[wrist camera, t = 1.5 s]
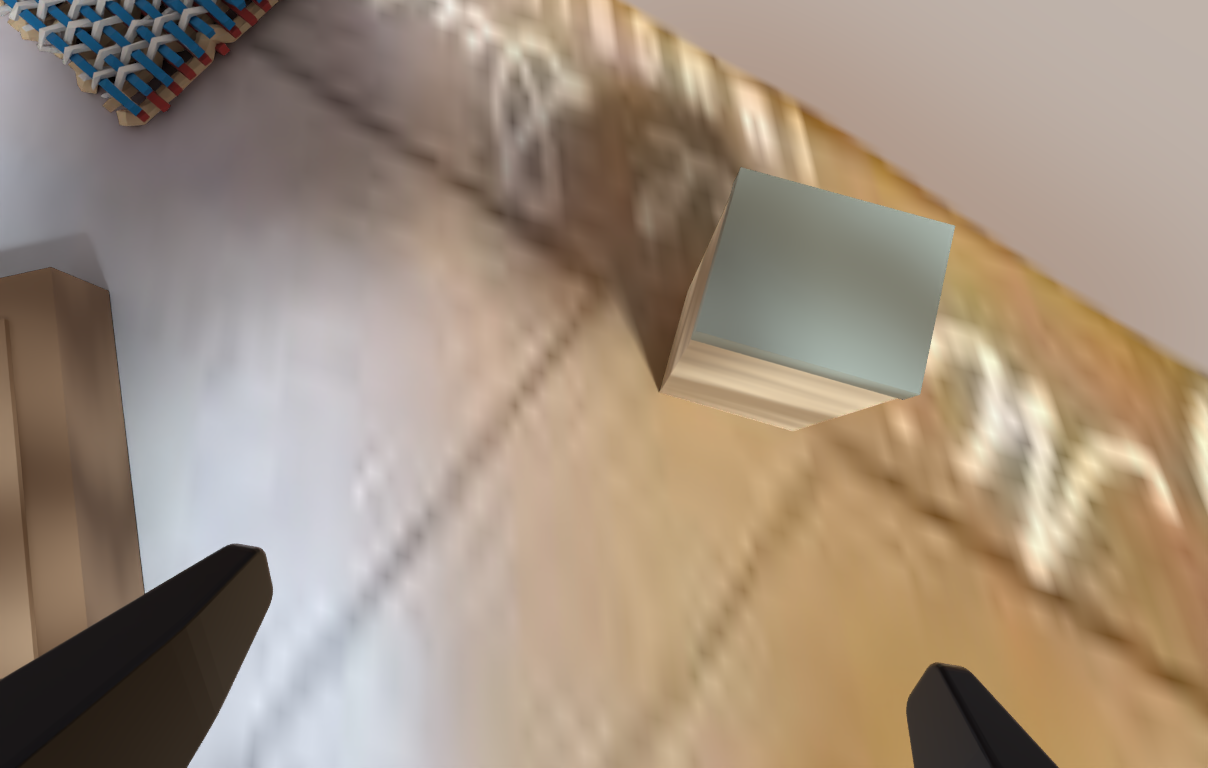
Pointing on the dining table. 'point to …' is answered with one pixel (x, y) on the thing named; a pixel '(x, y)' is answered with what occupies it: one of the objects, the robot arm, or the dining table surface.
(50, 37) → the woven mat
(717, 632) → the dining table surface
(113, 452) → the base
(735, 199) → the beech block
